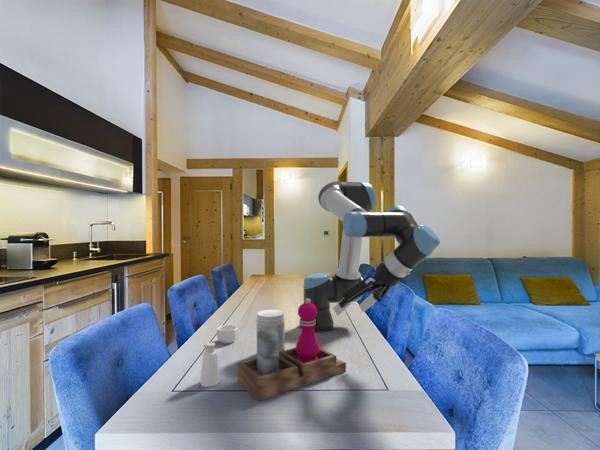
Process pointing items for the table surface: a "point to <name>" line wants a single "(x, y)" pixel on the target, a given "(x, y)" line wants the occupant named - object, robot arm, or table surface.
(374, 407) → the table surface
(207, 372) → the pepper shaker
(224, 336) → the teacup
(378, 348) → the table surface
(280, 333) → the supplement tub
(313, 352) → the pepper mill
